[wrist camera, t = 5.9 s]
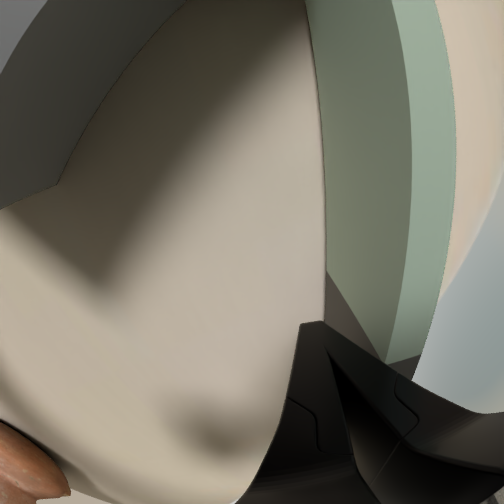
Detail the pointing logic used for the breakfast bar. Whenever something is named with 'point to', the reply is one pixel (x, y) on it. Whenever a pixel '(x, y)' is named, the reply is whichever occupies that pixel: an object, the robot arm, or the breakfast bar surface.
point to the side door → (385, 169)
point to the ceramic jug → (27, 471)
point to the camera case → (61, 78)
